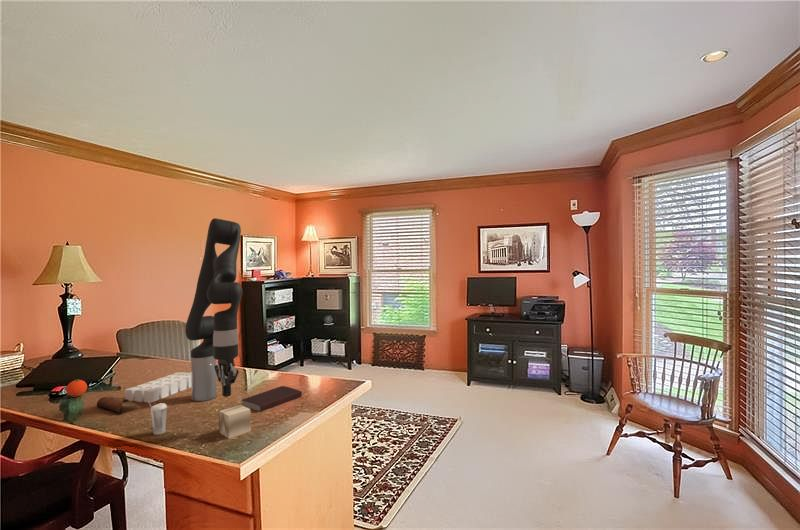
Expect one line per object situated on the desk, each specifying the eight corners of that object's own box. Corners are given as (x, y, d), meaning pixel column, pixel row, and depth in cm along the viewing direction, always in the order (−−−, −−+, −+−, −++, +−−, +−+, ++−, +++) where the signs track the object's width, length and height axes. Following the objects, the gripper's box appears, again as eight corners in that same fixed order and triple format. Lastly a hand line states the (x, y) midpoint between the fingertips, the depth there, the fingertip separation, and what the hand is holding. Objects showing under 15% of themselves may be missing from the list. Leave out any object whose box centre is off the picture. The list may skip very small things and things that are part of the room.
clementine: (66, 395, 165) (66, 379, 165) (87, 392, 170) (87, 376, 170) (65, 400, 159) (65, 383, 159) (87, 396, 163) (86, 379, 163)
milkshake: (153, 430, 126) (152, 399, 126) (170, 429, 126) (169, 398, 126) (145, 436, 121) (144, 404, 121) (163, 435, 122) (162, 403, 122)
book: (302, 398, 156) (302, 390, 156) (260, 413, 140) (260, 404, 140) (282, 393, 163) (282, 385, 163) (240, 407, 147) (240, 398, 147)
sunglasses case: (144, 407, 148) (134, 394, 145) (127, 422, 143) (116, 409, 140) (120, 400, 157) (110, 388, 154) (103, 414, 152) (92, 402, 149)
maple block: (218, 410, 123) (228, 415, 118) (240, 404, 128) (250, 409, 123) (219, 432, 123) (228, 438, 118) (240, 425, 128) (250, 431, 123)
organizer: (125, 389, 157) (191, 367, 191) (125, 401, 157) (191, 377, 191) (151, 391, 154) (214, 368, 188) (151, 403, 154) (214, 378, 187)
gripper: (246, 343, 125) (247, 397, 125) (228, 339, 134) (228, 389, 134) (223, 347, 119) (224, 403, 119) (205, 342, 128) (206, 394, 128)
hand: (226, 395), depth 126 cm, fingers closed
